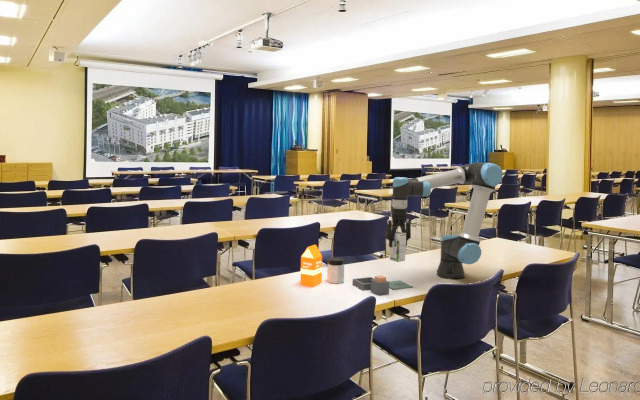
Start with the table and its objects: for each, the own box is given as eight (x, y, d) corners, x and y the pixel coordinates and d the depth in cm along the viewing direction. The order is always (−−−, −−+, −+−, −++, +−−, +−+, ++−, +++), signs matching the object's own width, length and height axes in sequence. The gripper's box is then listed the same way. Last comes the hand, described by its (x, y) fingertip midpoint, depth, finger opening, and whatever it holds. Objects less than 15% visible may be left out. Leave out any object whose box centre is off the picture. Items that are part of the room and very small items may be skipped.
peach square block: (381, 283, 237) (381, 275, 236) (385, 285, 233) (386, 277, 233) (374, 284, 235) (374, 276, 234) (378, 286, 231) (379, 278, 231)
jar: (324, 282, 250) (325, 259, 249) (329, 278, 258) (329, 256, 257) (341, 284, 248) (342, 261, 247) (345, 280, 256) (346, 258, 254)
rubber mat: (399, 281, 256) (399, 280, 256) (413, 287, 245) (413, 286, 245) (380, 283, 251) (380, 282, 251) (393, 289, 240) (393, 288, 240)
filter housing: (370, 282, 252) (371, 271, 252) (393, 293, 234) (393, 281, 233) (352, 284, 248) (352, 273, 247) (373, 295, 229) (373, 283, 229)
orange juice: (321, 283, 249) (322, 245, 247) (313, 287, 241) (314, 247, 239) (308, 281, 253) (309, 243, 251) (300, 285, 245) (300, 246, 243)
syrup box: (389, 260, 247) (390, 232, 246) (397, 258, 251) (398, 231, 249) (397, 262, 243) (398, 233, 241) (405, 260, 246) (406, 232, 244)
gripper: (387, 209, 236) (385, 255, 239) (419, 208, 244) (417, 253, 247) (379, 207, 243) (377, 252, 245) (410, 206, 251) (409, 250, 254)
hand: (397, 252), depth 246 cm, fingers closed on syrup box, 6 cm apart
